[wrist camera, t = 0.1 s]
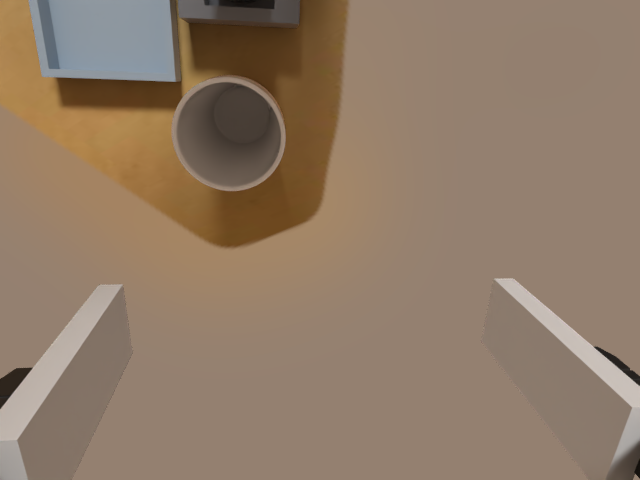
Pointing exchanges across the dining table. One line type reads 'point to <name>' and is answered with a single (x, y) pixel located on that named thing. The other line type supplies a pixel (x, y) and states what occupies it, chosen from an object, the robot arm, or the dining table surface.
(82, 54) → the parts tray
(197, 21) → the fuse block
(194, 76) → the dining table surface
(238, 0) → the cylinder
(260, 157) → the drinking glass
